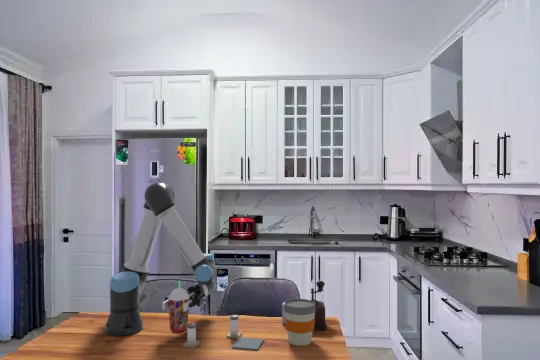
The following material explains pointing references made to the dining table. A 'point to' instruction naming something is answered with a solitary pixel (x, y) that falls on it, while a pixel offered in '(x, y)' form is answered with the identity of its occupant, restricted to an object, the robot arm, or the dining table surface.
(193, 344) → the post near
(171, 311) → the smoothie
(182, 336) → the dining table surface
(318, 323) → the pepper mill
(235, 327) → the post far
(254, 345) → the mat
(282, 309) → the medicine box
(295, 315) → the reusable coffee cup
